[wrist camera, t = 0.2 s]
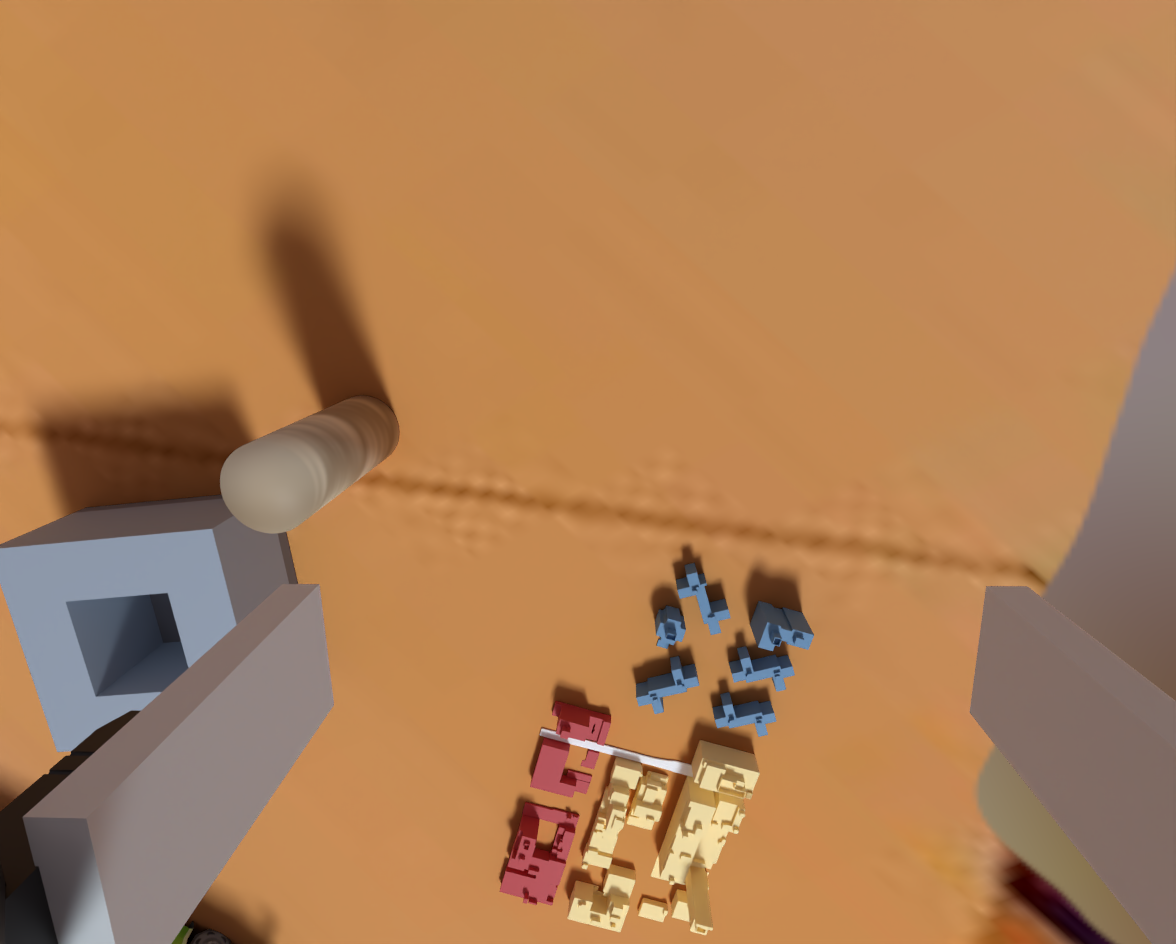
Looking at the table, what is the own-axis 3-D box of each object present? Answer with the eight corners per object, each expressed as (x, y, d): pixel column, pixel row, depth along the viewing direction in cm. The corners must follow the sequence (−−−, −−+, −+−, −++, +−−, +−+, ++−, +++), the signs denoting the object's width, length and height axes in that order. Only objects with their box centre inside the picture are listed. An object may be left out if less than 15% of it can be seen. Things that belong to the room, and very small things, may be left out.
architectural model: (618, 1114, 56) (618, 1199, 51) (439, 1068, 56) (420, 1149, 50) (822, 590, 44) (848, 632, 39) (596, 529, 44) (592, 562, 39)
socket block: (85, 507, 44) (-12, 549, 38) (276, 489, 43) (211, 528, 37) (138, 683, 47) (57, 751, 41) (317, 670, 46) (265, 737, 40)
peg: (324, 399, 42) (209, 446, 30) (392, 392, 42) (303, 437, 30) (338, 466, 43) (232, 537, 31) (404, 460, 43) (322, 529, 31)
